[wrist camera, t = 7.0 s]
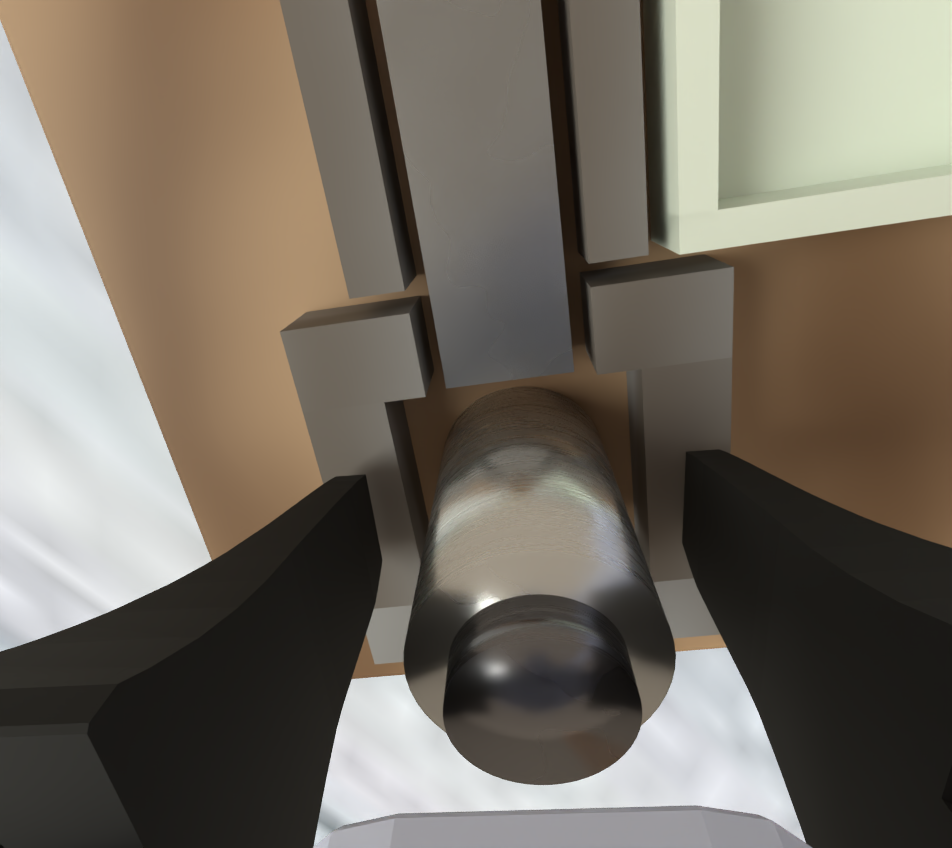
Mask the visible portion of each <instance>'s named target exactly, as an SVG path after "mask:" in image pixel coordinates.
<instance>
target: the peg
mask: <svg viewBox="0 0 952 848" xmlns="http://www.w3.org/2000/svg"><path fill="white" fill-rule="evenodd" d="M403 654H404V670H405V676H406V680H407V683H408V685H409V688H410V691H411V693H412V695H413V696H414V698H415V700H416V702H417V703H418V705H419V706H420V707H421V709H422V710H423V712H424V713H425V714H426V715H427V716H428V717H429V718H430V719H431V720H432V721H433V722H434V723H435V724H436V725H437V726H438V727H440V728H441V729H442V730H443V731H445V732H446V733H447V735H448V737H449V739H450V741H451V743H452V744H453V745H454V747H455V748H456V749H457V751H458V752H459V753H460V754H461V755H462V756H463V757H464V758H465V759H466V760H468V761H469V762H470V763H472V764H473V765H474V766H476V767H478V768H479V769H481V770H482V771H485V772H487V773H489V774H491V775H493V776H496V777H499V778H501V779H504V780H508V781H512V782H517V783H523V784H533V785H553V784H562V783H568V782H573V781H577V780H580V779H584V778H587V777H589V776H592V775H594V774H597V773H599V772H601V771H602V770H604V769H606V768H608V767H609V766H611V765H612V764H614V763H615V762H616V761H618V760H619V759H620V758H621V757H622V756H623V755H624V754H625V753H626V752H627V751H628V749H629V748H630V747H631V746H632V744H633V743H634V741H635V739H636V738H637V735H638V733H639V730H640V727H641V725H642V724H643V723H644V722H646V721H647V720H648V719H649V718H650V717H651V716H652V714H653V713H654V712H655V711H656V710H657V708H658V707H659V706H660V704H661V703H662V701H663V699H664V698H665V696H666V694H667V692H668V690H669V687H670V685H671V682H672V679H673V674H674V670H675V659H676V653H675V644H674V639H673V636H672V632H671V629H670V626H669V623H668V621H667V618H666V615H665V612H664V610H663V607H662V604H661V602H660V599H659V596H658V593H657V591H656V588H655V585H654V582H653V580H652V577H651V574H650V572H649V569H648V566H647V563H646V561H645V558H644V555H643V552H642V550H641V547H640V544H639V542H638V539H637V536H636V533H635V531H634V528H633V525H632V523H631V520H630V517H629V514H628V512H627V509H626V506H625V503H624V501H623V498H622V495H621V493H620V490H619V487H618V484H617V482H616V479H615V476H614V473H613V471H612V468H611V465H610V463H609V460H608V457H607V454H606V452H605V449H604V446H603V443H602V441H601V438H600V435H599V433H598V431H597V429H596V427H595V425H594V423H593V422H592V420H591V419H590V417H589V416H588V415H587V414H586V413H585V411H584V410H583V409H582V408H581V407H579V406H578V405H577V404H576V403H575V402H573V401H571V400H570V399H568V398H567V397H565V396H563V395H561V394H559V393H556V392H553V391H550V390H547V389H543V388H537V387H526V386H522V387H511V388H505V389H501V390H498V391H495V392H492V393H489V394H487V395H485V396H483V397H481V398H480V399H478V400H476V401H475V402H473V403H472V404H471V405H470V406H468V407H467V408H466V409H465V410H464V411H463V412H462V413H461V414H460V415H459V416H458V418H457V419H456V421H455V422H454V424H453V425H452V427H451V429H450V431H449V433H448V435H447V439H446V442H445V446H444V451H443V456H442V460H441V465H440V470H439V475H438V480H437V485H436V490H435V495H434V500H433V505H432V510H431V515H430V520H429V525H428V530H427V535H426V540H425V545H424V550H423V555H422V560H421V565H420V570H419V575H418V580H417V585H416V590H415V595H414V600H413V604H412V609H411V614H410V619H409V624H408V629H407V634H406V639H405V645H404V651H403Z"/></svg>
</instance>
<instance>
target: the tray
mask: <svg viewBox="0 0 952 848" xmlns="http://www.w3.org/2000/svg"><path fill="white" fill-rule="evenodd" d="M643 22H644V51H645V80H646V109H647V139H648V168H649V197H650V226H651V241H653V242H655V243H657V244H659V245H661V246H663V247H665V248H667V249H669V250H671V251H673V252H675V253H677V254H679V255H681V254H688V253H695V252H702V251H709V250H716V249H723V248H729V247H736V246H743V245H750V244H757V243H764V242H771V241H777V240H784V239H791V238H798V237H805V236H812V235H819V234H825V233H832V232H839V231H846V230H853V229H860V228H867V227H873V226H880V225H887V224H894V223H901V222H908V221H915V220H921V219H928V218H935V217H942V216H949V215H952V0H643Z"/></svg>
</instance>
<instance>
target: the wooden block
mask: <svg viewBox="0 0 952 848" xmlns="http://www.w3.org/2000/svg"><path fill="white" fill-rule="evenodd" d="M376 3H377V8H378V14H379V19H380V25H381V30H382V36H383V41H384V47H385V52H386V58H387V63H388V69H389V75H390V80H391V86H392V91H393V97H394V102H395V108H396V113H397V119H398V124H399V130H400V135H401V141H402V146H403V152H404V157H405V163H406V169H407V174H408V180H409V185H410V191H411V196H412V202H413V207H414V213H415V218H416V224H417V229H418V235H419V240H420V246H421V251H422V257H423V263H424V268H425V274H426V279H427V285H428V290H429V296H430V301H431V307H432V312H433V318H434V323H435V329H436V334H437V340H438V345H439V351H440V357H441V362H442V368H443V373H444V379H445V384H446V389H447V388H454V387H462V386H470V385H477V384H485V383H493V382H501V381H508V380H516V379H524V378H531V377H539V376H547V375H555V374H562V373H570V372H574V363H573V352H572V341H571V330H570V319H569V308H568V297H567V286H566V275H565V264H564V253H563V242H562V231H561V220H560V209H559V198H558V187H557V175H556V164H555V153H554V142H553V131H552V120H551V109H550V98H549V87H548V76H547V65H546V54H545V43H544V32H543V21H542V10H541V0H376Z"/></svg>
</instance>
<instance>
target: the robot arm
mask: <svg viewBox="0 0 952 848" xmlns="http://www.w3.org/2000/svg"><path fill="white" fill-rule="evenodd" d="M682 544H683V547H684V551H685V554H686V557H687V560H688V563H689V566H690V569H691V572H692V575H693V578H694V581H695V583H696V586H697V588H698V590H699V593H700V595H701V597H702V599H703V601H704V603H705V605H706V607H707V609H708V611H709V613H710V615H711V617H712V619H713V621H714V623H715V625H716V627H717V629H718V631H719V633H720V635H721V637H722V639H723V641H724V643H725V644H726V646H727V648H728V650H729V652H730V654H731V656H732V658H733V660H734V662H735V664H736V666H737V668H738V670H739V672H740V674H741V676H742V678H743V680H744V682H745V684H746V686H747V688H748V690H749V692H750V694H751V697H752V699H753V701H754V703H755V706H756V708H757V710H758V712H759V715H760V717H761V720H762V723H763V725H764V728H765V730H766V733H767V736H768V738H769V741H770V744H771V746H772V749H773V752H774V754H775V757H776V759H777V762H778V765H779V767H780V770H781V773H782V776H783V778H784V781H785V784H786V787H787V790H788V792H789V795H790V798H791V801H792V804H793V806H794V809H795V812H796V815H797V818H798V820H799V823H800V826H801V829H802V832H803V835H804V838H805V841H806V843H805V842H803V841H802V840H800V839H799V838H797V837H796V836H794V835H793V834H791V833H790V832H788V831H787V830H785V829H784V828H782V827H781V826H779V825H778V824H776V823H775V822H773V821H772V820H769V819H767V818H765V817H762V816H760V815H756V814H750V813H743V812H736V811H729V810H723V809H716V808H709V807H702V806H661V807H624V808H588V809H551V810H515V811H478V812H442V813H405V814H395V815H390V816H386V817H381V818H377V819H372V820H367V821H363V822H358V823H353V824H349V825H344V826H342V827H340V828H338V829H336V830H334V831H332V832H331V833H330V834H328V835H327V836H326V837H325V838H324V839H323V840H321V841H320V842H319V843H318V844H317V845H316V846H314V840H315V835H316V829H317V824H318V819H319V813H320V808H321V803H322V798H323V792H324V787H325V782H326V777H327V772H328V767H329V763H330V758H331V753H332V748H333V743H334V739H335V734H336V729H337V725H338V722H339V718H340V714H341V711H342V707H343V704H344V701H345V697H346V694H347V691H348V688H349V685H350V682H351V679H352V676H353V673H354V670H355V667H356V663H357V660H358V657H359V654H360V651H361V648H362V645H363V642H364V639H365V636H366V632H367V629H368V626H369V623H370V620H371V617H372V613H373V610H374V607H375V603H376V597H377V592H378V586H379V580H380V574H381V567H382V561H383V560H382V555H381V550H380V545H379V540H378V534H377V529H376V524H375V519H374V514H373V509H372V504H371V499H370V493H369V488H368V483H367V478H366V474H364V475H350V476H336V477H334V478H332V479H330V480H329V481H327V482H326V483H324V484H323V485H321V486H320V487H318V488H317V489H315V490H314V491H313V492H311V493H310V494H309V495H307V496H306V497H304V498H303V499H302V500H300V501H299V502H298V503H296V504H295V505H294V506H292V507H291V508H290V509H288V510H287V511H285V512H284V513H283V514H281V515H280V516H279V517H277V518H276V519H275V520H273V521H272V522H270V523H269V524H268V525H266V526H265V527H263V528H262V529H260V530H259V531H257V532H256V533H254V534H253V535H251V536H250V537H248V538H247V539H245V540H244V541H242V542H241V543H239V544H238V545H236V546H235V547H233V548H232V549H230V550H229V551H227V552H226V553H224V554H222V555H221V556H219V557H217V558H216V559H214V560H212V561H211V562H209V563H207V564H206V565H204V566H202V567H200V568H198V569H197V570H195V571H193V572H191V573H189V574H187V575H186V576H184V577H182V578H180V579H178V580H176V581H174V582H172V583H171V584H169V585H167V586H164V587H162V588H160V589H158V590H156V591H154V592H152V593H149V594H147V595H145V596H143V597H141V598H139V599H137V600H134V601H132V602H130V603H128V604H126V605H124V606H122V607H119V608H117V609H115V610H113V611H110V612H108V613H106V614H103V615H101V616H98V617H96V618H93V619H91V620H88V621H86V622H83V623H81V624H78V625H76V626H73V627H70V628H68V629H65V630H62V631H60V632H57V633H54V634H52V635H49V636H46V637H44V638H41V639H38V640H35V641H32V642H29V643H26V644H23V645H20V646H17V647H14V648H11V649H8V650H5V651H1V652H0V848H952V548H950V547H947V546H944V545H941V544H937V543H934V542H931V541H928V540H925V539H922V538H919V537H916V536H914V535H911V534H908V533H905V532H902V531H899V530H897V529H894V528H891V527H888V526H885V525H883V524H880V523H877V522H875V521H872V520H870V519H867V518H865V517H862V516H860V515H857V514H855V513H853V512H851V511H848V510H846V509H844V508H841V507H839V506H837V505H834V504H832V503H830V502H828V501H825V500H823V499H821V498H819V497H817V496H815V495H813V494H810V493H808V492H806V491H804V490H802V489H800V488H798V487H796V486H794V485H792V484H790V483H788V482H786V481H784V480H782V479H780V478H778V477H776V476H774V475H772V474H770V473H768V472H766V471H764V470H762V469H760V468H758V467H757V466H755V465H753V464H751V463H749V462H747V461H745V460H743V459H741V458H739V457H736V456H734V455H732V454H730V453H728V452H725V451H722V450H720V449H716V450H702V451H688V452H686V461H685V484H684V507H683V529H682ZM313 846H314V847H313Z"/></svg>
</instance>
